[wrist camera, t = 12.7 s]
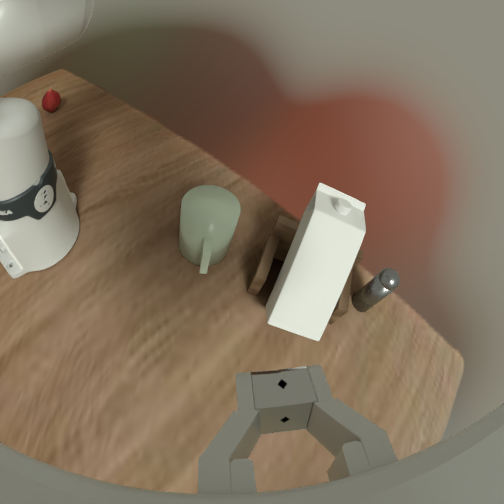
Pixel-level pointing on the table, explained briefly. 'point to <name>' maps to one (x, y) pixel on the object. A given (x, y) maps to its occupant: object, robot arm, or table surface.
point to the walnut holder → (279, 249)
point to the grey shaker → (376, 289)
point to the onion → (51, 100)
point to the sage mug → (207, 224)
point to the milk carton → (317, 263)
